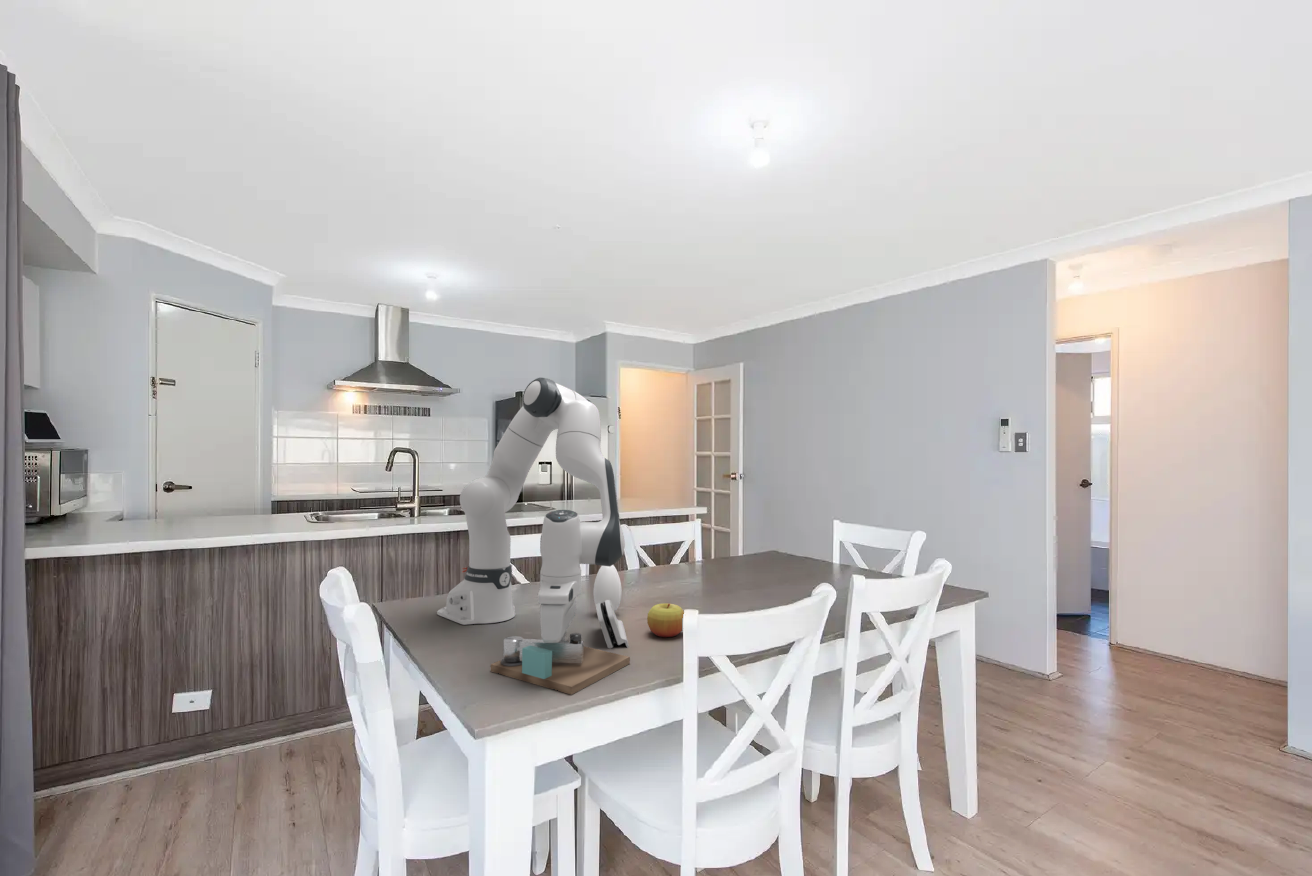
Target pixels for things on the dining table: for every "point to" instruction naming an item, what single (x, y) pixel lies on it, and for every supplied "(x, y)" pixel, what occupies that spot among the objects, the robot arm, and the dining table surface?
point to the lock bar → (560, 650)
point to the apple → (665, 619)
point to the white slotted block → (611, 625)
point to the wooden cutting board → (569, 670)
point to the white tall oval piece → (607, 586)
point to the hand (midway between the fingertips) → (559, 650)
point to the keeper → (537, 662)
